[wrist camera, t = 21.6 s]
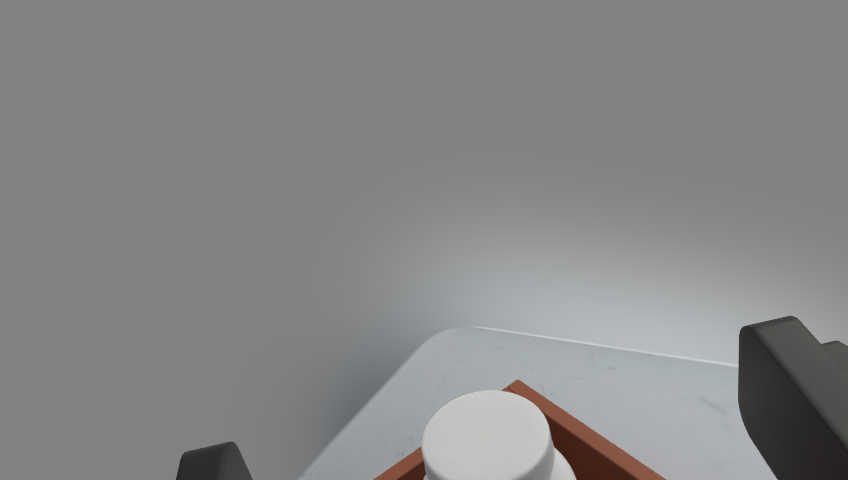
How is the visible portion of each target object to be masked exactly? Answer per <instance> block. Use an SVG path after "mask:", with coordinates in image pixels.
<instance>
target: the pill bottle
mask: <svg viewBox="0 0 848 480" xmlns="http://www.w3.org/2000/svg"><path fill="white" fill-rule="evenodd" d="M421 450H422V456H423V460H424V464H425V471H426V475H425V477H424V479H423V480H576V477H575V475H574V472H573V470H572V468H571V467H570V465H569V463H568V462H567V461H566V459H565V458H564V457H563V455H562V454H561V453H560V452H559V451H558V450H557V449H555V448H554V445H553V442H552V439H551V433H550V429H549V425H548V422H547V420H546V418H545V416H544V415H543V413H542V412H541V411H540V409H539V408H538V407H537V406H536V405H535V404H533V403H532V402H531V401H529V400H527V399H526V398H524V397H522V396H519V395H517V394H514V393H510V392H505V391H495V390H489V391H479V392H474V393H469V394H466V395H463V396H460V397H458V398H456V399H454V400H452V401H451V402H449V403H447V404H446V405H444V406H443V407H442V408H440V409H439V410H438V411H437V412H436V413H435V414H434V415H433V416H432V418H431V419H430V420H429V422H428V423H427V425H426V427H425V429H424V432H423V435H422V441H421Z"/></svg>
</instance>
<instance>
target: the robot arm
mask: <svg viewBox="0 0 848 480" xmlns="http://www.w3.org/2000/svg"><path fill="white" fill-rule="evenodd" d="M738 402H739V408H740V413H741V417H742V420H743V423H744V425H745V428H746V430H747V432H748V434H749V436H750V438H751V440H752V441H753V443H754V444H755V446H756V447H757V449H758V450H759V452H760V453H761V455H762V456H763V458H764V459H765V461H766V463H767V464H768V466H769V467H770V469H771V470H772V472H773V473H774V475H775V476H776V478H777V479H778V480H848V346H847V345H845V344H843V343H841V342H839V341H833V342H828V343H824V344H820V343H819V341H818V340H817V339H816V338H815V337H814V336H813V335H812V334H811V333H810V332H809V330H808V329H807V328H806V327H805V326H804V325H803V324H802V322H801V321H799V320H798V319H797V318H796V317H793V316H787V317H783V318H778V319H774V320H769V321H765V322H761V323H756V324H752V325H748V326H744V327H742V329H741V330H740V334H739V378H738ZM176 480H252V477H251V475H250V473H249V471H248V469H247V466H246V464H245V462H244V460H243V457H242V455H241V453H240V451H239V449H238V447H237V445H236V444H235V443H234V442H227V443H222V444H218V445H214V446H209V447H205V448H200V449H196V450H192V451H187V452H185V453H184V454H183V455H182V457H181V460H180V464H179V469H178V473H177V478H176Z"/></svg>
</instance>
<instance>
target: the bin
mask: <svg viewBox="0 0 848 480" xmlns="http://www.w3.org/2000/svg"><path fill="white" fill-rule="evenodd" d="M502 391H505V392H510V393H514V394H517V395H519V396H522V397H524V398H526V399H527V400H529V401H531V402H532V403H533V404H535V405H536V406H537V407H538V408H539V409H540V411H541V412H542V413H543V415H544V416H545V418H546V420H547V422H548V425H549V429H550V433H551V439H552V442H553V445H554V448H555V449H557V450H558V451H559V452H560V453H561V454H562V455H563V457H564V458H565V459H566V461H567V462H568V463H569V465H570V467H571V468H572V470H573V472H574V475H575V477H576V480H666V479H664V478H663V477H661V476H660V475H658V474H657V473H655V472H654V471H653V470H651V469H650V468H648V467H647V466H645V465H644V464H642V463H641V462H639V461H638V460H636V459H635V458H633V457H632V456H630V455H629V454H627V453H626V452H625V451H623V450H622V449H620V448H619V447H617V446H616V445H614V444H613V443H611V442H610V441H608V440H607V439H605V438H604V437H602V436H601V435H599V434H598V433H597V432H595V431H594V430H592V429H591V428H589V427H588V426H586V425H585V424H583V423H582V422H580V421H579V420H577V419H576V418H574V417H573V416H571V415H570V414H569V413H567V412H566V411H564V410H563V409H561V408H560V407H558V406H557V405H555V404H554V403H552V402H551V401H549V400H548V399H546V398H545V397H543V396H542V395H541V394H539V393H538V392H536V391H535V390H533V389H532V388H530V387H529V386H527V385H526V384H524V383H523V382H521V381H520V380H516V381H515V382H513V383H512V384H510V385H509V386H508V387H507V388H504V389H503V390H502ZM425 475H426V471H425V464H424V460H423V456H422V450H421V447H420V448H418V449H417V450H416V451H414V452H413V453H411V454H410V455H408V456H407V457H406V458H404V459H403V460H401V461H400V462H398V463H397V464H395V465H394V466H393V467H391V468H390V469H388V470H387V471H385V472H384V473H383V474H381V475H380V476H378V477H377V478H375V479H374V480H423V479H424V477H425Z"/></svg>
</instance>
